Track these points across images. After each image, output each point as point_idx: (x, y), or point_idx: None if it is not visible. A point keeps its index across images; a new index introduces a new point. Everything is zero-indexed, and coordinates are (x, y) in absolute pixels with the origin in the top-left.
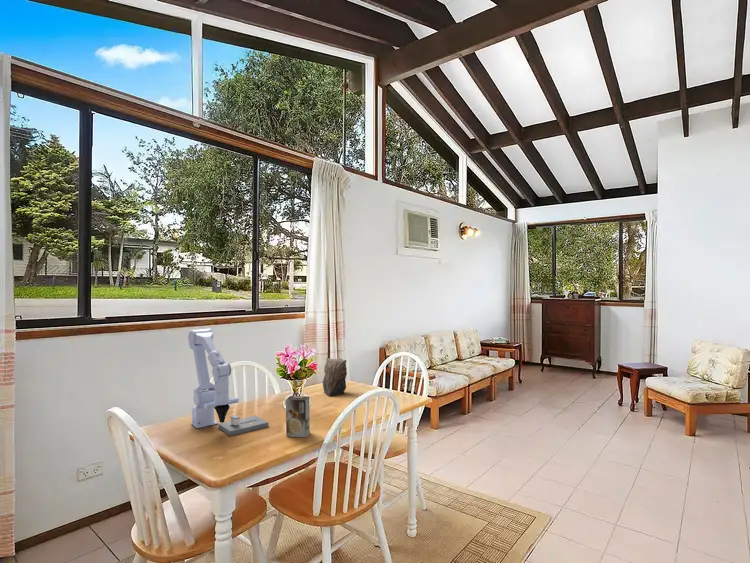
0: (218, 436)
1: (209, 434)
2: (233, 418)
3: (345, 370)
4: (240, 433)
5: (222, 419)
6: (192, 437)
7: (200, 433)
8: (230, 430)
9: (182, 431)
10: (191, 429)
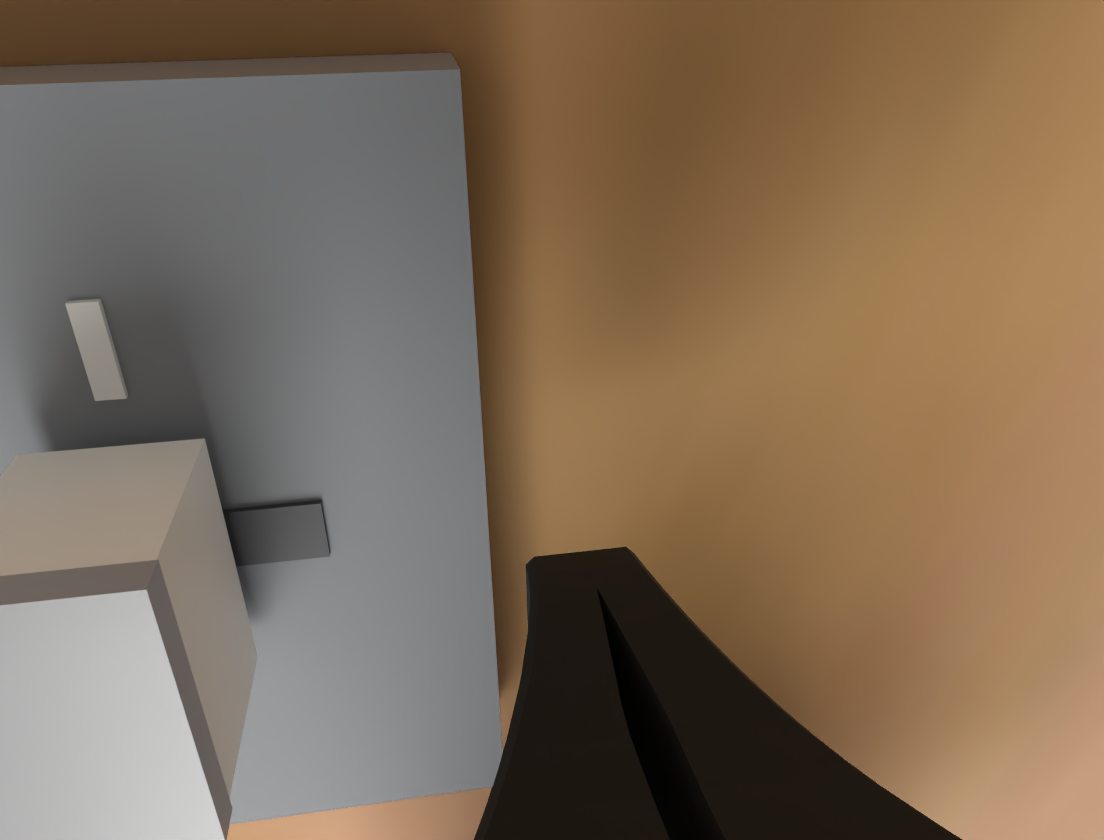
0: (699, 241)
1: (782, 479)
2: (169, 631)
3: None
4: (104, 63)
5: (633, 606)
6: (1078, 497)
7: (870, 612)
8: (417, 160)
9: (1000, 808)
10: None
